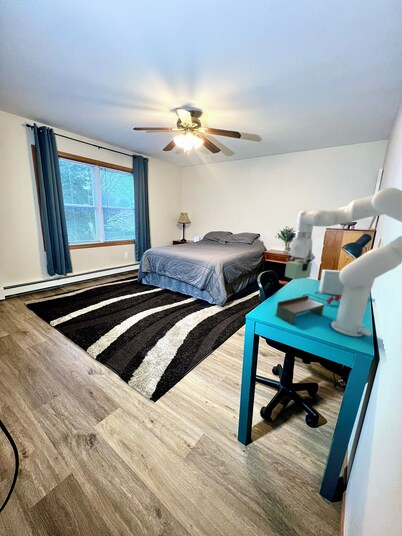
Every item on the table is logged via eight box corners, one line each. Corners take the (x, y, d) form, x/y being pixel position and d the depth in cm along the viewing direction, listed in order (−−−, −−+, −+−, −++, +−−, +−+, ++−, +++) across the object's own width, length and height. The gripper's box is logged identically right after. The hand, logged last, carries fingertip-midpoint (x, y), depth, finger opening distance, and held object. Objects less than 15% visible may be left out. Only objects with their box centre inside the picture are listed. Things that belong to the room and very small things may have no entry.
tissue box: (309, 277, 116) (312, 260, 114) (295, 279, 111) (297, 261, 109) (299, 274, 122) (301, 258, 120) (284, 276, 116) (286, 259, 114)
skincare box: (349, 293, 150) (354, 271, 146) (353, 296, 144) (359, 273, 140) (317, 290, 151) (322, 268, 147) (321, 293, 146) (325, 271, 142)
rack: (322, 315, 114) (325, 301, 112) (292, 324, 102) (295, 309, 100) (305, 307, 122) (307, 295, 120) (275, 315, 110) (277, 301, 108)
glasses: (327, 306, 126) (329, 298, 125) (302, 296, 140) (303, 288, 138) (340, 302, 133) (342, 294, 132) (315, 293, 147) (316, 286, 145)
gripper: (284, 234, 117) (280, 266, 121) (314, 237, 102) (308, 273, 106) (293, 234, 120) (289, 265, 124) (324, 237, 106) (318, 272, 110)
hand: (298, 268), depth 115 cm, fingers closed on tissue box, 6 cm apart
